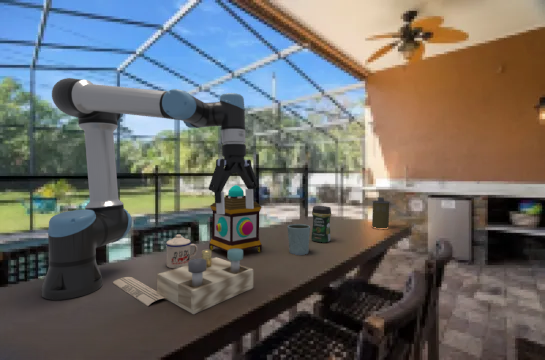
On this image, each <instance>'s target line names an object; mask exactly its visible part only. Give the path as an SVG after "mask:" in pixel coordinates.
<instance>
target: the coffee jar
mask: <svg viewBox="0 0 545 360" xmlns="http://www.w3.org/2000/svg"><path fill="white" fill-rule="evenodd" d="M311 214H312V229H311V240H312V241H313V242H317V243H321V242H322V243H323V244H325V243H326V242H328V243H330V241H331V223H330V222H331V217H332V210H331V207H330V206H325V205H314V206H313V207H312V211H311ZM326 244H327V243H326Z"/></svg>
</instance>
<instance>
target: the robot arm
mask: <svg viewBox="0 0 545 360" xmlns="http://www.w3.org/2000/svg"><path fill="white" fill-rule="evenodd" d="M51 98H52V101H53V104H54V106H55V107H56V108H57V109H58V110H59V111H60V112H63V114H65V115H67V116H71V117H73V118H77V119H78V121H77V122H78V127H79V128H80V129H82V130H83V131H84V142H85V143H84V144H85V154H86V167H87V178H88V179H87V182H88V194H89V202H88V203H87V204H86V205H85V207H84V209H74V210H68V211H63V212H60V213H57V214H55V215H53V216H52V217H50V219H49V220H48V230H47V235H48V236H47V237H48V270H47V272H46V275H45V277H44V281H43V283H42V286H41V297H42V298H44V299H46V300H51V301H53V300H55V301H59V300H60V301H61V300H67V299H68V300H69V299H76V298H78V297H82V296H85V295H89V294H91V293H94V292H95V291H97V290H99V289H100V288H101V287H102V286H103V276H102V273H101V270H100V268H99V265H98V263H97V261H96V257H97V256H96V255H97V254H96V249H97V248H100V247H103V246H106V245H108V244H113V243H116V242H118V241H120V240H121V239H124V238H125V237H126V236H127V235H128V234H129V233H130V231H131V230H132V224H133V220H132V216H131V214H130V213H129V212H128V210H127V209H126V208H124V207H125V206H124V205H125V204H124V202H122V201H121V200H120V199H119V192H118V191H119V190H118V178H117V177H118V176H117V164H116V163H117V162H116V151H115V137H114V132H115V130H116V129H118V128H119V127H118V123H119V122H120V121H121V119H122V118H123V116H124V115H132V116H142V117H150V118H160V119H166V120H168V119H169V120H175V121H182V122H183V123H184V125H185V126H186V127H187V128H190V129H191V128H193V129H200V128H209V127H210V128H212V127H221V129H220V130H221V133H220V134H221V143H222V145H221V155H222V157H224V158H219V159H216V160H215V167H214V171H213V174H212V177H211V180H210V183H209V186H208V190H209V191H210V192H212V193H214V203H216V212H217V214H225V205H224V197H225V192H224V191H223V190H224V188H225V186H226V184H227V182H228V181H229V179H230V176H232V175H234V174H237V175H238V176H239V177H240V179H241V181H242V182H243V183H244V185H245V187H246V188H245V192H244V193H245V196H246V208H248V209H254V204H253V202H254V197H255V195H254V194H255V193H254V192H255V190H256V189H257V188H258V186H259V183H258V181H257V178H256V174H255V173H254V169H253V167H252V159H245V157H246V155H247V145H246V144H245V143H246V108H245V98H244V96H243V95H241V93H236V92H226V93H223V94H221V95H220V97H219V101H215V102H204V101H202V100H201V99H199V98H197V97H195V96H194V95H192V94H191V93H189V92H187V91H186V90H181V89H180V88H172V89H170V90H156V89H147V88H135V87H126V86H125V87H124V86H118V85H117V86H116V85H104V84H95V83H93V82H91V81H90V80H86V79H80V78H79V79H78V78H72V77H66V78H62V79H60V80H58V81H57V82H56V83H55V84H54V86H53V87H52V89H51Z"/></svg>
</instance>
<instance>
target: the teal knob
mask: <svg viewBox="0 0 545 360" xmlns="http://www.w3.org/2000/svg"><path fill="white" fill-rule="evenodd" d="M226 256H227V261H230V262H231V272H233V273H236V272H239V271H240V265H241V264H240V263H241V260H244V250H242V249H229V250H228V252H227V255H226Z"/></svg>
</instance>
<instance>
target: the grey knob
mask: <svg viewBox="0 0 545 360" xmlns="http://www.w3.org/2000/svg"><path fill="white" fill-rule="evenodd" d="M188 271H189V272H191V273H192V286H201V285H202V284H203V272H204V271H206V260H205V259H202V258H192V259H190V260H189V261H188Z"/></svg>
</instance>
